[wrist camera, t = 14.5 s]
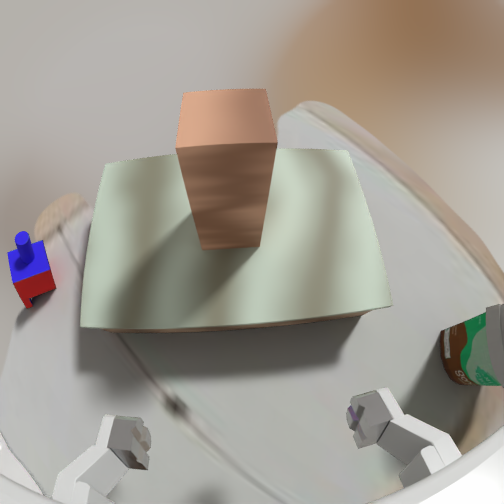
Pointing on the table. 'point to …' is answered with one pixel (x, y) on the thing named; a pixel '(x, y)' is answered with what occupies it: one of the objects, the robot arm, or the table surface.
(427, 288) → the table surface
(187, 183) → the tall block
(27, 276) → the toy building block
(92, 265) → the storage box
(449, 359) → the food container
